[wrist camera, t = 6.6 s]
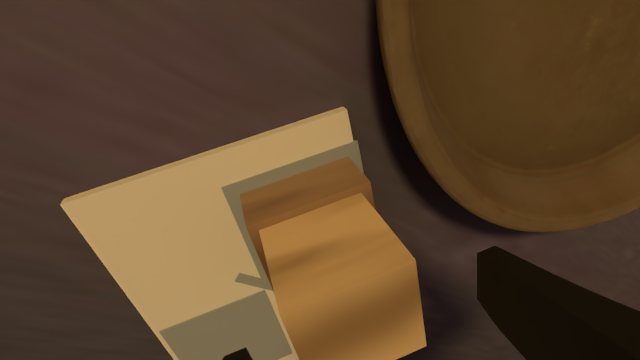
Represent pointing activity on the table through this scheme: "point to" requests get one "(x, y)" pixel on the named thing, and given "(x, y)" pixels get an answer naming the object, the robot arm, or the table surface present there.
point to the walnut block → (301, 197)
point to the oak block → (344, 284)
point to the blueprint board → (205, 238)
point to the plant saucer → (521, 104)
